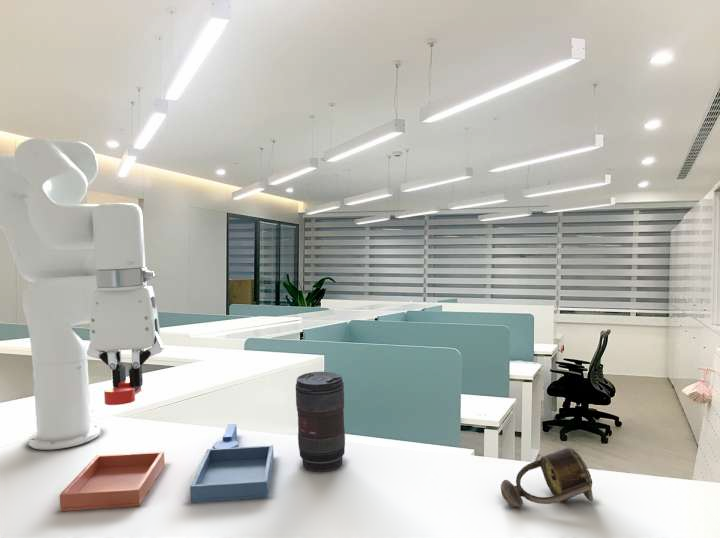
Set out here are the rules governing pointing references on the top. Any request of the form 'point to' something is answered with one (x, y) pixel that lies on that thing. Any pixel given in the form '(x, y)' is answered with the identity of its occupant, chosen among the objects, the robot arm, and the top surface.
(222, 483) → the blue tray
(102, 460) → the red tray
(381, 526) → the top surface
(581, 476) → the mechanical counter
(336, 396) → the camera lens
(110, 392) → the red spoon
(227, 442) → the blue spoon
